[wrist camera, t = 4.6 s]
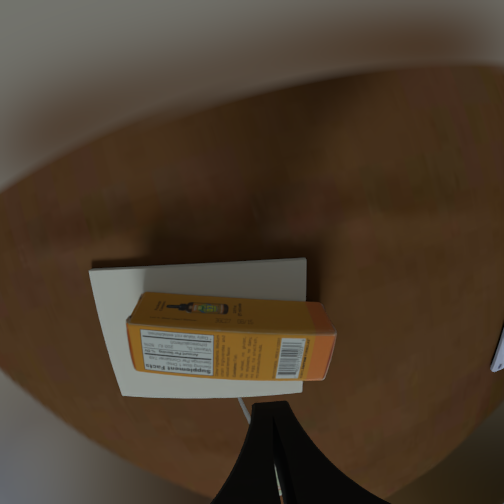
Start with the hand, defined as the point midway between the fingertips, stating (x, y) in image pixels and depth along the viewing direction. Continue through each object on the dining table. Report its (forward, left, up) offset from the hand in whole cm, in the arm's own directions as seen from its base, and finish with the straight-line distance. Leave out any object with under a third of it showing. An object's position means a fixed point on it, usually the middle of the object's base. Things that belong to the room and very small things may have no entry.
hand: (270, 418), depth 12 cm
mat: (+3, 0, -7) cm, 8 cm away
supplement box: (-4, 0, -5) cm, 6 cm away
